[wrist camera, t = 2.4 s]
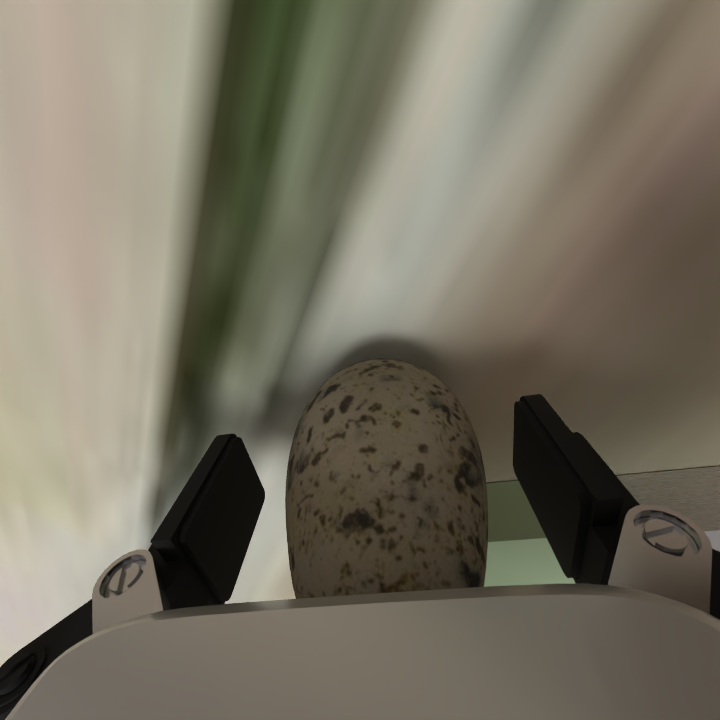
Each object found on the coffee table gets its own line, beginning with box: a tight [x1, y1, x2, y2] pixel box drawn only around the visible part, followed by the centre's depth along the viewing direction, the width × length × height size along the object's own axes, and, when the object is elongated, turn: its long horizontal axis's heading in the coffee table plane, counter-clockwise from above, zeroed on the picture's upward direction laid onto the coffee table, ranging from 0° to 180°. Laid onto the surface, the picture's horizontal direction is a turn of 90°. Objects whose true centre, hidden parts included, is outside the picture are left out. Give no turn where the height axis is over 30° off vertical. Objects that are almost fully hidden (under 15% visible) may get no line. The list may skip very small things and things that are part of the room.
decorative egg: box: [285, 359, 488, 599], centre depth 10 cm, size 6×6×10 cm
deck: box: [484, 481, 576, 587], centre depth 17 cm, size 10×12×6 cm
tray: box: [617, 466, 720, 552], centre depth 17 cm, size 11×11×3 cm
